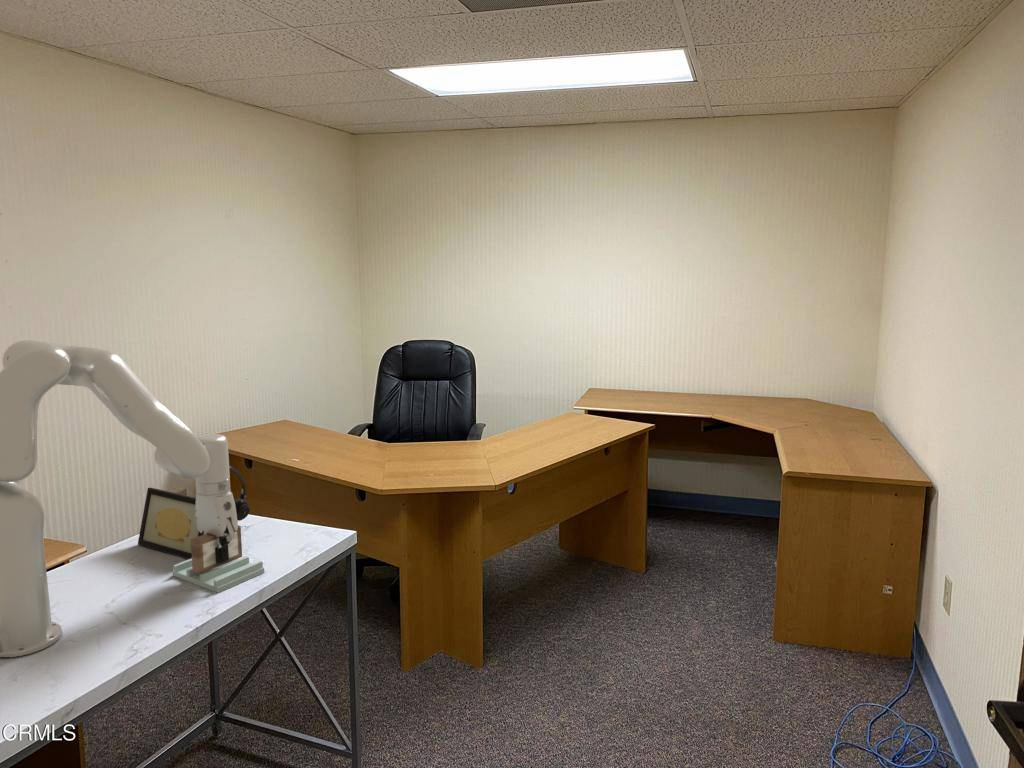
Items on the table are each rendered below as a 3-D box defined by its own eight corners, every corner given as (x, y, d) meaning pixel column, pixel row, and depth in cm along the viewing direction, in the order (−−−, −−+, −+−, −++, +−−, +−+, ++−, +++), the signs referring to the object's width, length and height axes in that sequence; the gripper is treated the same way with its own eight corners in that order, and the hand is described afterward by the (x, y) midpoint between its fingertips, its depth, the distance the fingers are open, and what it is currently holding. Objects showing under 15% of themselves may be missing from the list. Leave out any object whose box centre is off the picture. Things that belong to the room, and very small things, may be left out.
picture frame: (137, 545, 195) (138, 489, 194) (166, 537, 203) (168, 484, 202) (197, 562, 184) (199, 503, 183) (226, 553, 192) (228, 497, 191)
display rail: (218, 592, 168) (217, 581, 168) (172, 575, 177) (172, 564, 176) (264, 572, 179) (263, 562, 178) (219, 557, 188) (218, 547, 187)
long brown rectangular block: (199, 574, 172) (197, 541, 170) (192, 571, 173) (190, 539, 172) (242, 556, 182) (241, 526, 180) (235, 554, 183) (233, 523, 182)
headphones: (269, 531, 206) (265, 462, 202) (238, 545, 196) (234, 472, 192) (229, 522, 212) (225, 455, 208) (197, 535, 202) (192, 465, 198)
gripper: (249, 488, 173) (253, 562, 176) (205, 477, 181) (210, 547, 185) (221, 497, 167) (226, 573, 170) (177, 485, 175) (183, 558, 178)
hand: (217, 559), depth 177 cm, fingers closed on long brown rectangular block, 2 cm apart
